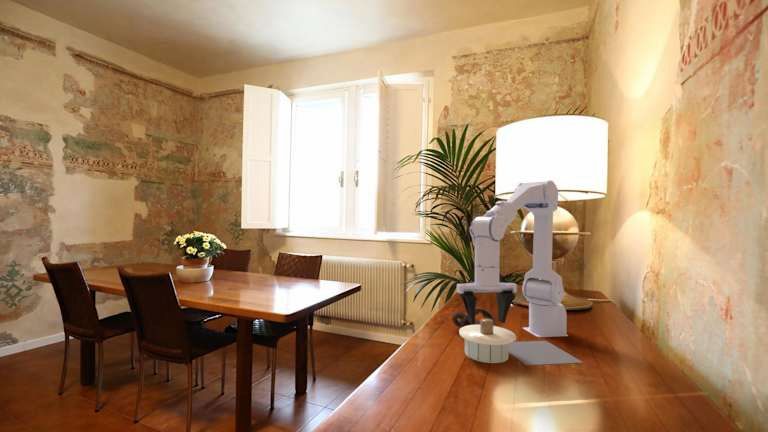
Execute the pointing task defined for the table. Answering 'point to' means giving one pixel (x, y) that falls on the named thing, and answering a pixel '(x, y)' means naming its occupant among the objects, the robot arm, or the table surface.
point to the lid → (487, 333)
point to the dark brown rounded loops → (464, 318)
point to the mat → (540, 353)
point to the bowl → (487, 352)
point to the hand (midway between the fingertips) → (486, 322)
